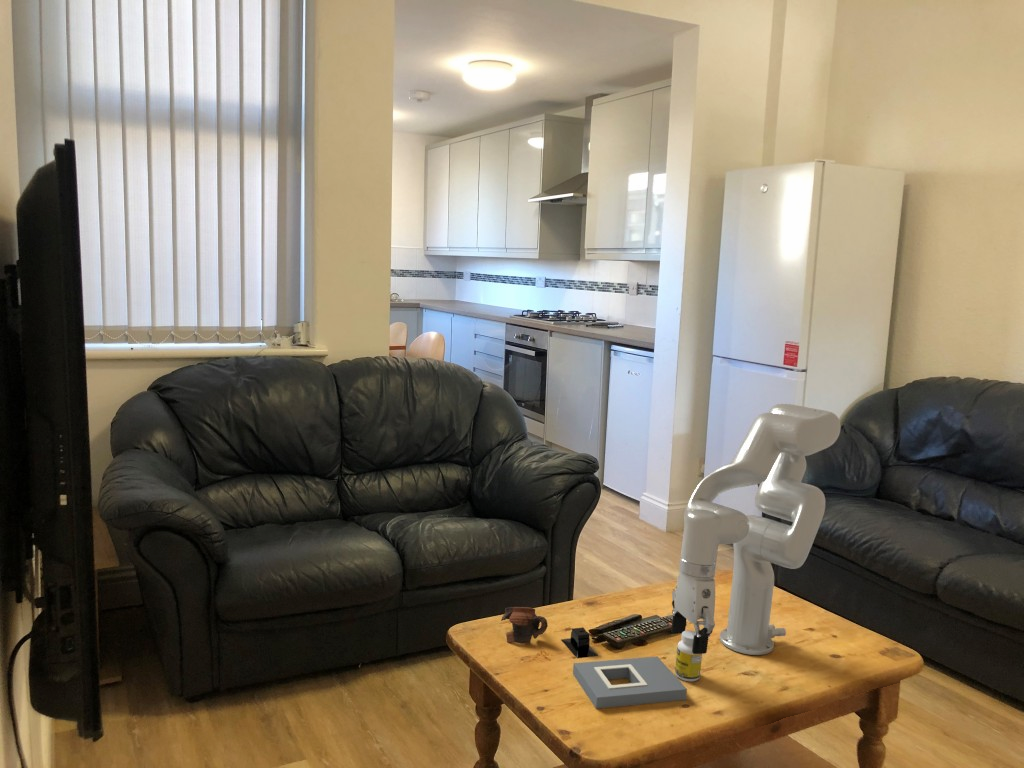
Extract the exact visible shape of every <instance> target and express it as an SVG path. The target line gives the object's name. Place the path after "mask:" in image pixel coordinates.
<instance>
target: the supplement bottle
mask: <svg viewBox="0 0 1024 768" xmlns="http://www.w3.org/2000/svg"><path fill="white" fill-rule="evenodd" d="M694 635H696V632H695V630H685V631H683V632H682V633H681V636H680V637H681V640H679V642H678V643H677V648H676V649H677V650H676V658H675V659H676V660H675V672H674V673H675V674H674V675H675V676H676V677H677V679H680V680H682V681H685V682H697V681H698V680H699V679H700V678H701V668H702V659H703V654H693V653H692V647H693V639H694Z"/></svg>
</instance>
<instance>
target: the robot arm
mask: <svg viewBox="0 0 1024 768" xmlns="http://www.w3.org/2000/svg"><path fill="white" fill-rule="evenodd" d="M840 433H841V421H840V418H839V417H838V415H837V414H835V413H834V412H832V411H828V410H822V409H818V408H813V407H807V406H803V405H797V404H791V403H789V404H788V403H779V404H778V403H777V404H774V405H773V406H771V407H770V409H769V411H768V412H763V413H761V414H758V416H757V417H756V418H755V419H754V420H753V422H752V424H751V426H750V428H749V429H748V432H746V435H745V437H744V439H743V441H742V442H741V444H740V446H739V448H738V450H737V452H736V454H735V455H734V458H733V459H732V460H731V461H730V462H729V463H727V464H724V465H722V466H721V467H718V468H717V469H715V470H714V471H712V472H711V473H709V474H708V475H707V476H705V477H704V478H703V479H702V480H701V481H700V482H699V483H698V484H697V486H696V487H695V489H694V491H693V492H692V494H691V496H690V498H689V500H688V502H687V504H686V506H685V509H684V513H683V521H684V523H683V524H684V525H683V533H682V534H683V535H682V540H681V541H682V542H681V551H680V559H679V560H680V561H679V567H678V575H677V579H676V580H677V581H676V585H675V590H672V591H671V597H672V601H671V605H672V608H673V609H672V611H671V614H672V620H671V621H672V622H671V628H670V633H672V634H673V635H674V634H676V635H677V634H682V632H683V631H686V626H687V621H688V622H689V623H691V624H692V625H693V627H694V631H695V632H696V635H694V639H693V647H692V653H693V654H702V655H704V654H707V652H708V643H709V638H710V637H711V635H712V633H713V631H714V629H715V626H716V622H715V620H714V618H715V608H716V582H715V577H716V576H715V574H716V569H717V568H716V567H717V560H718V559H717V558H718V550H719V545H724V544H725V545H733V571H732V580H731V589H730V598H729V599H730V600H729V607H728V608H729V609H728V617H727V618H728V619H727V627H726V628H724V629H722V630H721V631H720V632H719V637H718V638H719V641H720V642H721V644H722V645H724V646H725V647H726V648H728V649H730V650H732V651H734V652H737V653H741V654H744V655H751V656H763V655H767V654H769V653H771V652H772V651H773V650H774V645H775V644H774V641H773V639H774V638H775V637H785V636H786V635H787V630H786V629H785V627H775V625H774V624H770V623H771V620H770V619H771V610H772V603H773V595H774V587H775V574H774V569H773V566H772V564H774V565H777V566H780V567H783V568H787V569H791V570H792V569H793V570H794V569H795V570H796V569H799V568H801V567H802V566H803V565H804V563H805V562H806V560H807V558H808V556H809V553H810V551H811V549H812V546H813V544H814V541H815V538H816V536H817V534H818V531H819V529H820V526H821V523H822V520H823V517H824V515H825V511H826V510H825V509H826V497H825V494H824V491H822V489H820V488H819V487H817V486H815V485H812V484H809V483H805V482H802V480H803V478H804V475H805V472H806V470H807V460H806V457H808V456H811V455H813V454H816V453H819V452H820V451H821V452H822V451H823V450H826V449H827V448H828V449H829V448H830V447H831V446H832V445H834V444H835V443H836V442H837V440H838V438H839V436H840ZM755 485H758V488H757V490H756V493H755V496H754V505H755V507H756V508H757V510H758V511H759V512H761V513H763V514H765V515H769V516H772V517H774V518H778V519H780V520H781V519H782V520H785V521H787V522H792V524H791V525H790V524H786V523H783V522H780V521H777V520H774V519H771V518H767V517H763V516H761V515H753V514H750V515H749V514H745V513H743V512H742V511H740V510H738V509H736V508H733V507H732V508H731V507H729V506H725V505H723V504H718V503H715V502H714V500H715V499H716V498H717V497H718V496H720V495H721V494H723V493H724V492H727V491H729V490H734V489H737V488H738V489H739V488H745V487H749V486H755ZM700 626H703V627H702V628H701V629H700Z"/></svg>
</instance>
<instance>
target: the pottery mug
mask: <svg viewBox="0 0 1024 768" xmlns="http://www.w3.org/2000/svg"><path fill="white" fill-rule="evenodd" d="M506 620H509V623H511V624H512V631H510V632H509V631H507V632H506V633H505V637H506V642H507V643H517V644H518V643H519V644H525V645H526V644H530V645H531V641H532V639H537V638H538V637H539V636H542V635H543V634H544V633H545V632H546V631H547V628H548V627H549V626H548V621H547V619H546V618H545V617H544V616H543V615H542V616H541V615H537V614H536V609H535V608H533V607H528V606H525V607H523V606H521V607H520V606H514V607H513V606H510V607H509V606H508V607H505V608H504V614H503V615H502V617H501V620H500V621H501V622H503V621H506Z"/></svg>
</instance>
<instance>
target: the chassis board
mask: <svg viewBox="0 0 1024 768" xmlns="http://www.w3.org/2000/svg"><path fill="white" fill-rule="evenodd" d="M572 667H573V668H572V675H573V676H574V678H575V679H576V680H577V682H578V684H579V685H580V687H581V688H582V690H583V691H584V693H585V694H586V696H587V697H588V699H589V700H590V702H591V703H592V705H593V707H594V708H595V709H597V710H598V709H608V708H617V707H618V708H619V707H626V706H636V705H645V704H646V705H647V704H649V705H650V704H659V703H668V702H678V701H679V702H680V701H687V693H688V689H687V687H686V686H685V685H684V684H683V683H682V682H681V681H680V680H679V678H678V677H677V676H676V674H674V673H673V672H672V671H671V669H669V667H668V666H667V665H666V664H665V663H664V662H663V660H662V659H661V658H660V657H659V656H658V655H657V656H646V657H636V658H635V657H634V658H633V657H632V658H622V659H621V658H620V659H610V660H595V661H585V662H583V661H582V662H573V666H572ZM618 679H619V680H621V679H628V681H629V682H630V683H621V684H611V682H610V680H618Z"/></svg>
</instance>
